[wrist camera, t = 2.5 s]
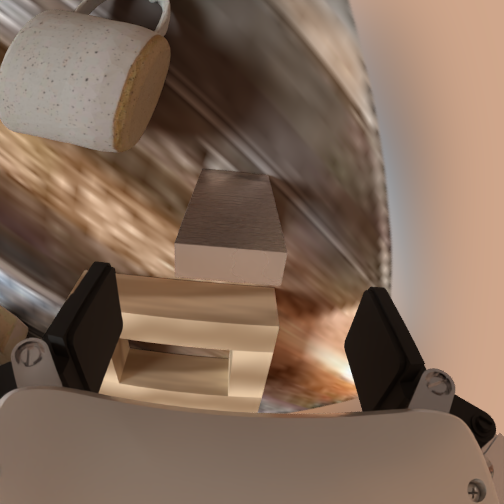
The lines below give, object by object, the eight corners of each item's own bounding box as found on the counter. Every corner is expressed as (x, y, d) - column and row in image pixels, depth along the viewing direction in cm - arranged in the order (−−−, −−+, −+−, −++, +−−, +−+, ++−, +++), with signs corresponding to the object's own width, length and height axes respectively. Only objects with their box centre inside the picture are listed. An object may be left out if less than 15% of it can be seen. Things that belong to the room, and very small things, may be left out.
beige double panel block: (101, 346, 36) (59, 344, 22) (78, 406, 32) (30, 432, 19) (5, 289, 34) (-57, 259, 20) (-15, 344, 31) (-82, 335, 17)
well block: (85, 269, 25) (64, 303, 21) (274, 287, 26) (279, 326, 22) (107, 361, 31) (96, 393, 27) (255, 377, 32) (257, 412, 28)
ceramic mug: (150, 144, 20) (108, 179, 13) (50, 118, 18) (-18, 144, 11) (205, -3, 15) (187, -45, 8) (94, -21, 13) (35, -50, 7)
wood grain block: (202, 168, 21) (174, 243, 12) (268, 174, 21) (287, 253, 13) (199, 227, 23) (176, 325, 15) (259, 232, 23) (270, 332, 15)
